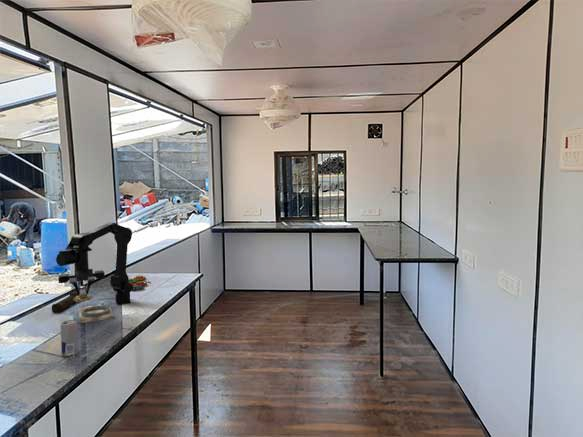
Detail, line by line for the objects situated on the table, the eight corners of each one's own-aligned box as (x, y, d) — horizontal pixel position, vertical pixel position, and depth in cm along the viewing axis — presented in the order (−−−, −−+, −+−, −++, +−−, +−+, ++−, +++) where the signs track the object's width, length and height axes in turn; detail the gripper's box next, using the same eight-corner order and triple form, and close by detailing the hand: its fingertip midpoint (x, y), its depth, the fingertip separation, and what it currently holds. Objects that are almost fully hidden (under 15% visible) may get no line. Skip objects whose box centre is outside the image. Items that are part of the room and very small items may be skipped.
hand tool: (61, 313, 186) (61, 302, 186) (51, 313, 186) (50, 302, 186) (85, 299, 209) (85, 289, 208) (76, 299, 209) (76, 289, 208)
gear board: (109, 305, 198) (109, 299, 197) (113, 318, 181) (113, 311, 180) (78, 310, 191) (77, 303, 190) (79, 323, 174) (79, 315, 173)
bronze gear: (92, 295, 186) (91, 283, 186) (92, 300, 180) (92, 287, 179) (73, 298, 183) (73, 285, 182) (73, 303, 176) (73, 290, 175)
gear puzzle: (129, 279, 253) (129, 273, 253) (155, 278, 255) (155, 272, 255) (114, 292, 223) (113, 285, 222) (143, 292, 225) (143, 285, 224)
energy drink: (66, 350, 146) (64, 319, 144) (81, 350, 146) (79, 319, 145) (58, 357, 140) (57, 325, 139) (74, 356, 141) (73, 324, 140)
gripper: (57, 267, 168) (59, 302, 169) (104, 263, 177) (106, 296, 179) (58, 262, 177) (59, 295, 179) (103, 258, 186) (104, 290, 188)
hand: (83, 294), depth 181 cm, fingers closed on bronze gear, 3 cm apart
